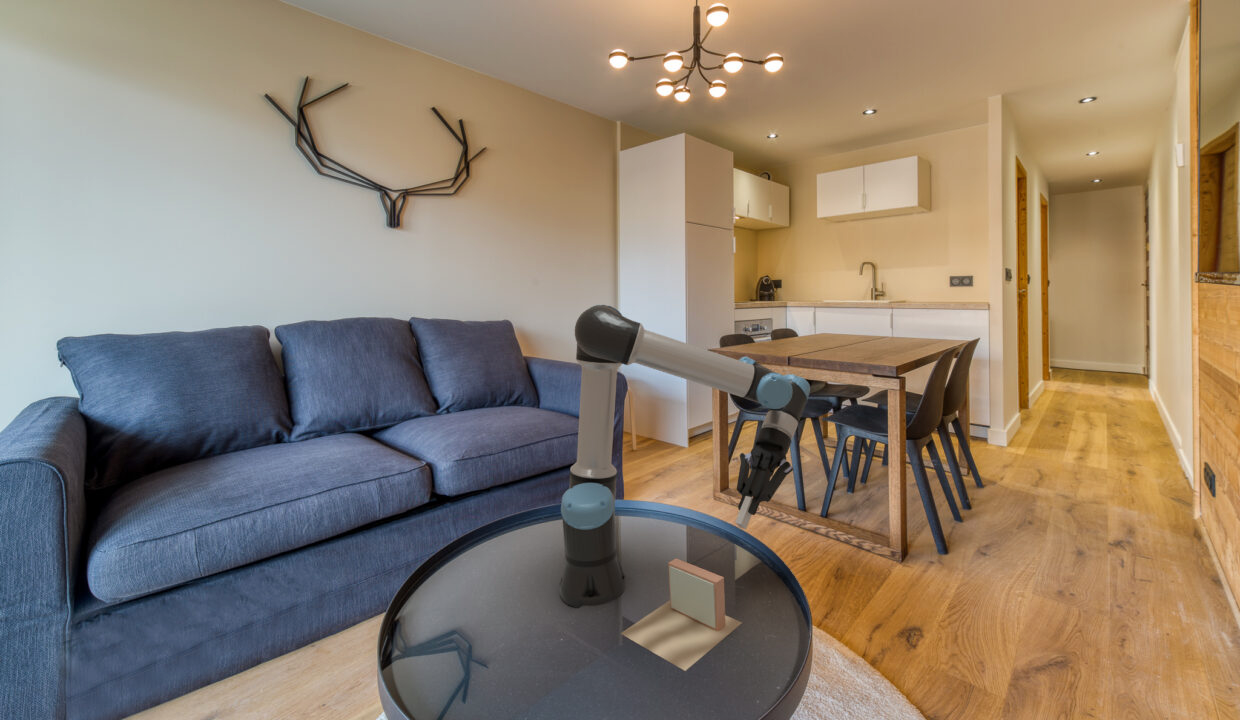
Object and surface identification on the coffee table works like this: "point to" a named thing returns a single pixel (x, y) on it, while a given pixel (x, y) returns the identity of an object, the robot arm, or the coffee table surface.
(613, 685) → the coffee table surface
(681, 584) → the terracotta tile
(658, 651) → the oak board
